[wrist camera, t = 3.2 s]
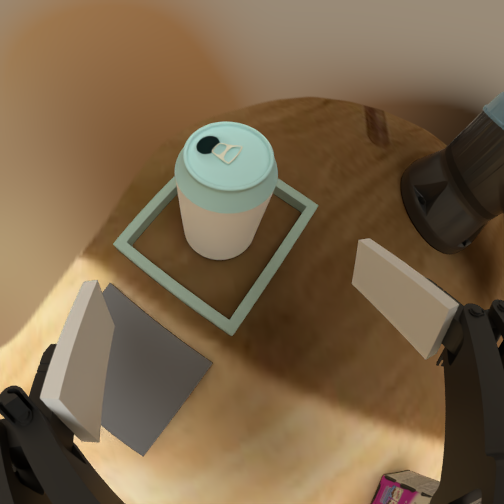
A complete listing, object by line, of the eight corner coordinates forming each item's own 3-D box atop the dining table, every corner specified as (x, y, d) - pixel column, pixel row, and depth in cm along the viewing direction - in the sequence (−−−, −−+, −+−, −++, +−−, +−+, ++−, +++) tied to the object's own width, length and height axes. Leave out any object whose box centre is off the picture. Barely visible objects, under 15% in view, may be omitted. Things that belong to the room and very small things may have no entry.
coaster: (112, 284, 24) (109, 282, 23) (212, 362, 23) (212, 363, 22) (52, 374, 19) (48, 374, 19) (144, 453, 19) (143, 456, 18)
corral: (212, 147, 31) (213, 139, 29) (313, 211, 30) (318, 205, 28) (117, 249, 25) (112, 244, 24) (231, 336, 24) (232, 335, 23)
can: (186, 265, 26) (172, 203, 14) (182, 200, 28) (173, 117, 17) (258, 258, 27) (295, 196, 16) (248, 196, 29) (272, 114, 18)
